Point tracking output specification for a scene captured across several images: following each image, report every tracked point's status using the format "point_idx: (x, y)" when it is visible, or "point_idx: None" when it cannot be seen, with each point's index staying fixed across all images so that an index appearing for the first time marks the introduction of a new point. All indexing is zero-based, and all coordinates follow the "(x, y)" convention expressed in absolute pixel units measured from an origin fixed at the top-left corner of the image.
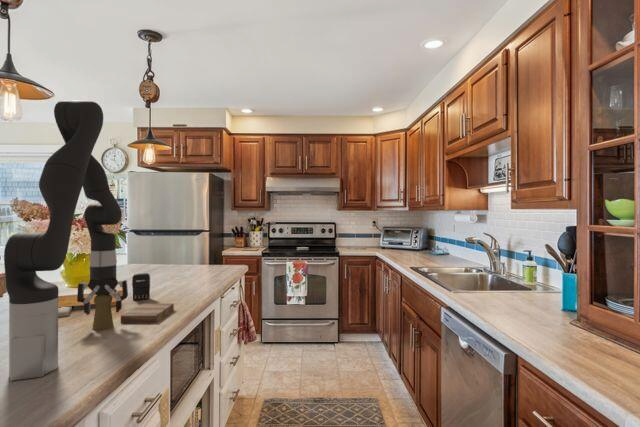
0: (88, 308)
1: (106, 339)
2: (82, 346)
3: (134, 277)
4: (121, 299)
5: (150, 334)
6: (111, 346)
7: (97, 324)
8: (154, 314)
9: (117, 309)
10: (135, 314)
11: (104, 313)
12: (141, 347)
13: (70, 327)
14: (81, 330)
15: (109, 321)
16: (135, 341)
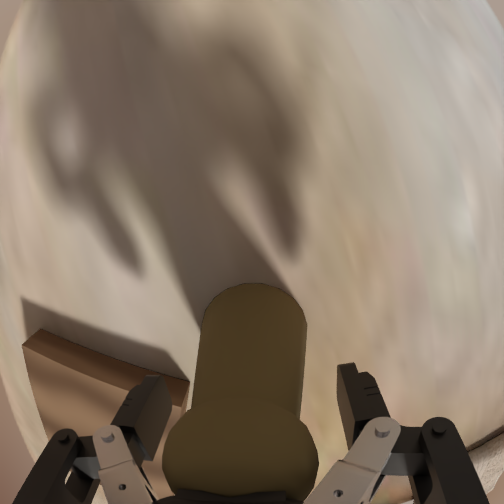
0: (348, 391)
1: (163, 107)
2: (256, 23)
3: None
4: (98, 436)
5: (8, 162)
6: (118, 15)
7: (270, 306)
8: (34, 362)
9: (145, 384)
10: (113, 399)
11: (222, 350)
12: (25, 19)
13: (412, 362)
14: (357, 308)
15: (205, 328)
16: (41, 74)
